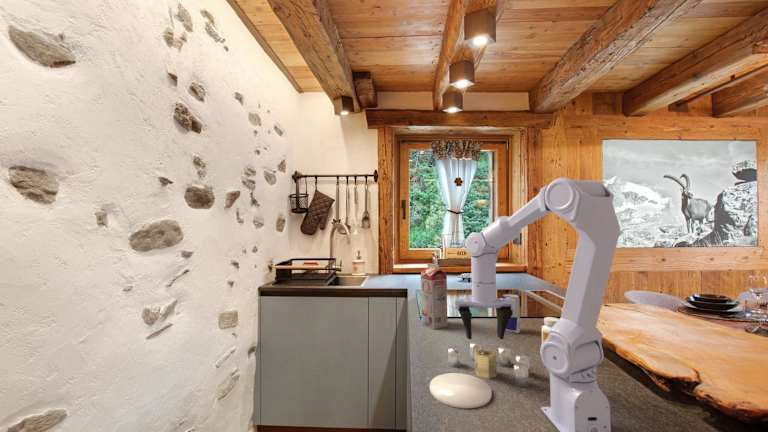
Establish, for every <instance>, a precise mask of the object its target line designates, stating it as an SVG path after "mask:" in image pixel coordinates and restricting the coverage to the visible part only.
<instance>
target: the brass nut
mask: <svg viewBox="0 0 768 432" xmlns="http://www.w3.org/2000/svg"><path fill="white" fill-rule="evenodd" d="M474 372H475V373H476V375H477V377H478V378H484V379H492V377H493V378H495V377H497V355H496V353H495V352H494V351H493V350H492V349H485V348H481V349H479V350H475V361H474Z"/></svg>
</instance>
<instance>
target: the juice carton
mask: <svg viewBox="0 0 768 432" xmlns="http://www.w3.org/2000/svg"><path fill="white" fill-rule="evenodd" d="M426 264H427V267H426V268H425V269H424V270H422V271H421V272H420V304H421V305H420V310H421V312H420V314H421V316H420V317H421V318H420V320H421V325H422V326H424V327H426V328H429V329H431V330H437V329H441V328H446V327H449V326H448V284H447V283H448V281H447V280H448V279H447V277H448V275H447V273H446V272H445V271H443V270H441V269H440V264H434V263H428V262H427V263H426Z"/></svg>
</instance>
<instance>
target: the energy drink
mask: <svg viewBox="0 0 768 432" xmlns="http://www.w3.org/2000/svg"><path fill="white" fill-rule="evenodd" d="M501 298H504V299H513V300H515V306H516V308H515V309H512V308H511V310H512V311H513V315H512V316H511V318H510V320H509V322H508V324H507V326H506V329H505V333H507V334H511V335H517V334H520V332H521V315H520V314H521V312H520V311H521V310H520V305H521V304H520V296H519V295H518V294H514V293H504V294H502V297H501Z"/></svg>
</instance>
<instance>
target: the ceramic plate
mask: <svg viewBox="0 0 768 432" xmlns="http://www.w3.org/2000/svg"><path fill="white" fill-rule="evenodd" d="M429 391H430V394H431V395H432V397H433V398H434V399H435V400H437V401H438V402H439V403H442V404H444V405H446V406H449V407H454V408H457V409H476V408H477V409H478V408H481V407H483V406H486V405H487V404H489V402H490V401H492V395H493V394H492V388H491V386H490V385H489V384H488V383H487V382H486V381H485V380H482V379H481V378H480V377H478V376H474V375H470V374H466V373H459V372H458V373H457V372H455V373H454V372H449V373H442V374H440V375H437V376H434V377H433V378H432V379H431V380H430V382H429Z"/></svg>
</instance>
